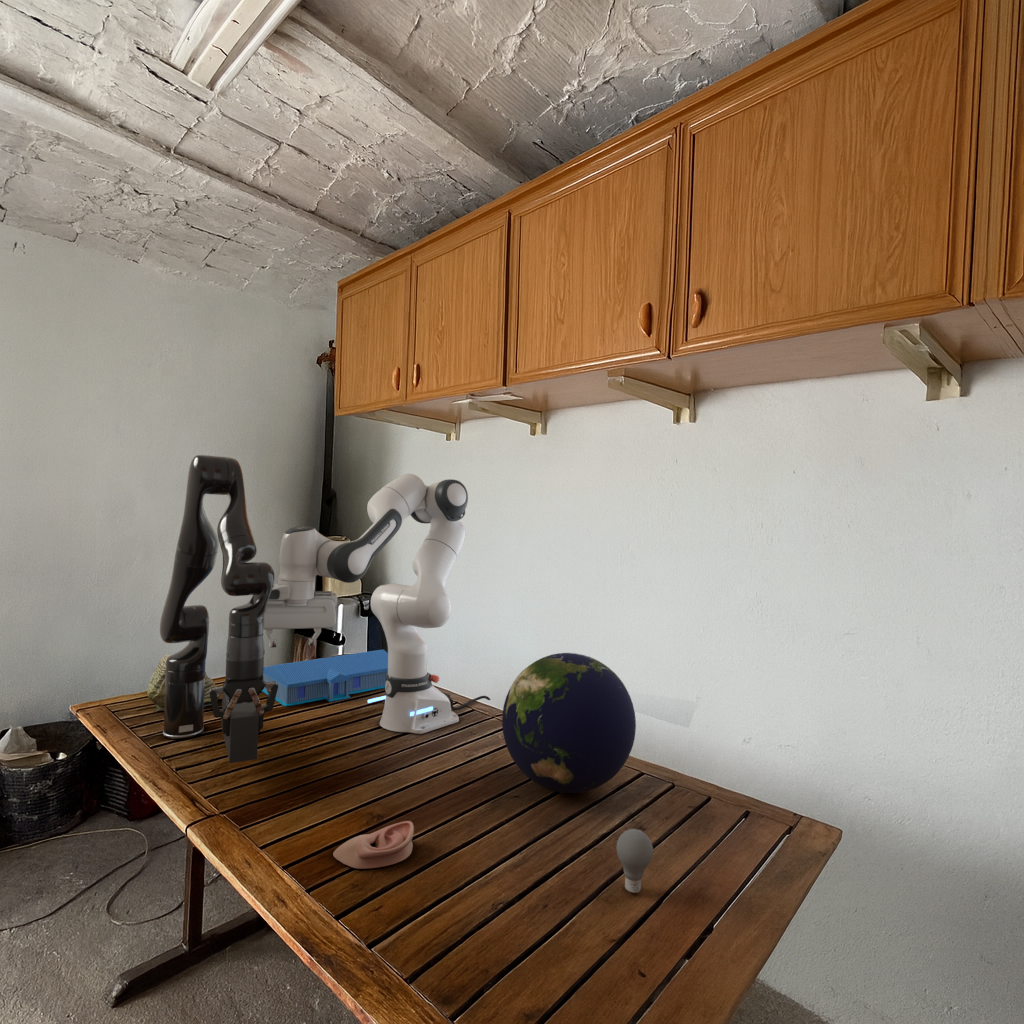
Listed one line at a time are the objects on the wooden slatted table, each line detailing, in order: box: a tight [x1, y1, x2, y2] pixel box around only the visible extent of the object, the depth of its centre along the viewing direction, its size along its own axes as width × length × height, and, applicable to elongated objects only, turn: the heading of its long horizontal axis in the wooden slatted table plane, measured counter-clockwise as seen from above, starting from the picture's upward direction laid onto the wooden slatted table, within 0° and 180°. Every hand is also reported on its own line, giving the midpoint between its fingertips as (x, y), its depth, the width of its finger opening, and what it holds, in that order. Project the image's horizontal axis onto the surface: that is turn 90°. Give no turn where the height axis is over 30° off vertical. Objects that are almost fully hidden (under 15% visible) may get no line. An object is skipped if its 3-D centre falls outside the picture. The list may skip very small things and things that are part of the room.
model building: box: [262, 649, 388, 707], centre depth 208 cm, size 39×24×10 cm, turn 132°
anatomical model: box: [332, 820, 415, 870], centre depth 114 cm, size 13×4×12 cm
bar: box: [221, 691, 259, 764], centre depth 144 cm, size 23×5×9 cm, turn 29°
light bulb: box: [615, 828, 654, 894], centre depth 106 cm, size 6×6×10 cm
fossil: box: [147, 654, 220, 712], centre depth 185 cm, size 9×18×15 cm, turn 132°
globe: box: [501, 652, 637, 794], centre depth 143 cm, size 30×30×30 cm
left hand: (242, 732), depth 136 cm, fingers closed on bar, 5 cm apart
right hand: (292, 646), depth 159 cm, fingers open, 8 cm apart
